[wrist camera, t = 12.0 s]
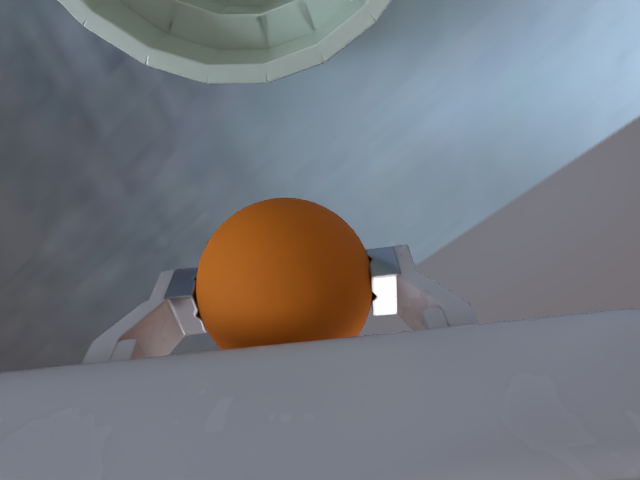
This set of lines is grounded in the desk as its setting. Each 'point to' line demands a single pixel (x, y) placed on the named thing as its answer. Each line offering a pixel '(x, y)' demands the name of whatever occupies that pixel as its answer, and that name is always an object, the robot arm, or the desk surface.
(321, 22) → the bowl
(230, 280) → the orange
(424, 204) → the desk surface
